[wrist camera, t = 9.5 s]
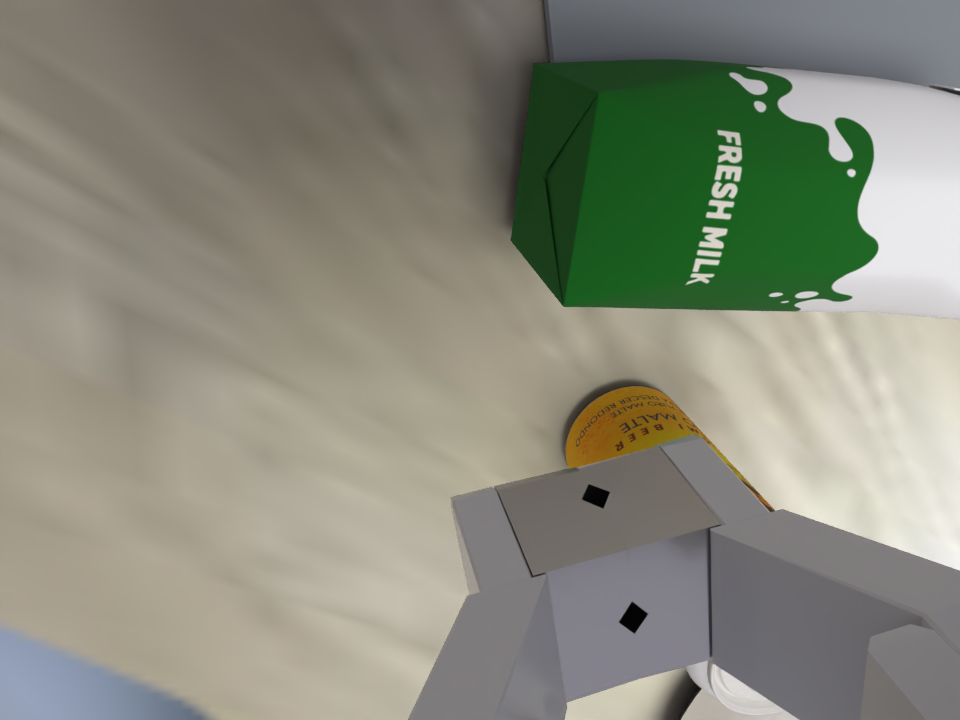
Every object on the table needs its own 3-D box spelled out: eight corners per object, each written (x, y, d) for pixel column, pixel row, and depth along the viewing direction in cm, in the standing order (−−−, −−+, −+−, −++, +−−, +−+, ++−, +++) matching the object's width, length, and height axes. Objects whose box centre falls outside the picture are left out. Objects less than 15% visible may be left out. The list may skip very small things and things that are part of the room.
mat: (531, -116, 29) (535, -117, 28) (1062, -201, 32) (1076, -204, 31) (574, 292, 36) (578, 296, 36) (1005, 193, 39) (1015, 196, 38)
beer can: (691, 385, 40) (896, 587, 26) (654, 489, 42) (825, 723, 29) (579, 371, 38) (737, 579, 25) (546, 480, 40) (675, 725, 27)
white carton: (501, 254, 34) (897, 267, 39) (567, 345, 26) (1053, 347, 31) (528, 33, 30) (963, 78, 35) (616, 62, 23) (1160, 115, 27)
